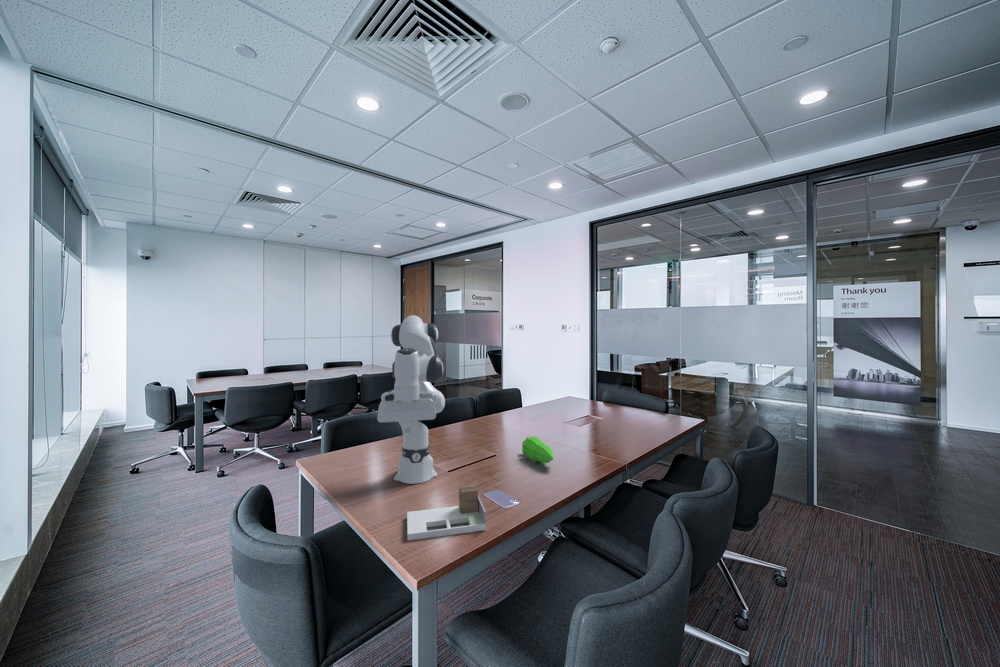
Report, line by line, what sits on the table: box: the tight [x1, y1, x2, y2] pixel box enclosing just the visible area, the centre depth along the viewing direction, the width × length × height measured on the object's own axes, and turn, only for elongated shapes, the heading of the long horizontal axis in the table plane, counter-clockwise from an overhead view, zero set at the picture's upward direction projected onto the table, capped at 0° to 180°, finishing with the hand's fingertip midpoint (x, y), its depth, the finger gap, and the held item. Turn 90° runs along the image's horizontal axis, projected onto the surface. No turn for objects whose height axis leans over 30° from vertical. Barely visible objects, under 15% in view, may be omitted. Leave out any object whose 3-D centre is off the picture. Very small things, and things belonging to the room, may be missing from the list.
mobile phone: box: [483, 489, 520, 509], centre depth 145 cm, size 8×1×15 cm
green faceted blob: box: [521, 436, 554, 465], centre depth 186 cm, size 11×12×30 cm
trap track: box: [406, 494, 487, 541], centre depth 126 cm, size 15×25×6 cm, turn 104°
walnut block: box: [458, 484, 479, 514], centre depth 132 cm, size 5×6×8 cm
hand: (407, 433), depth 132 cm, fingers closed
